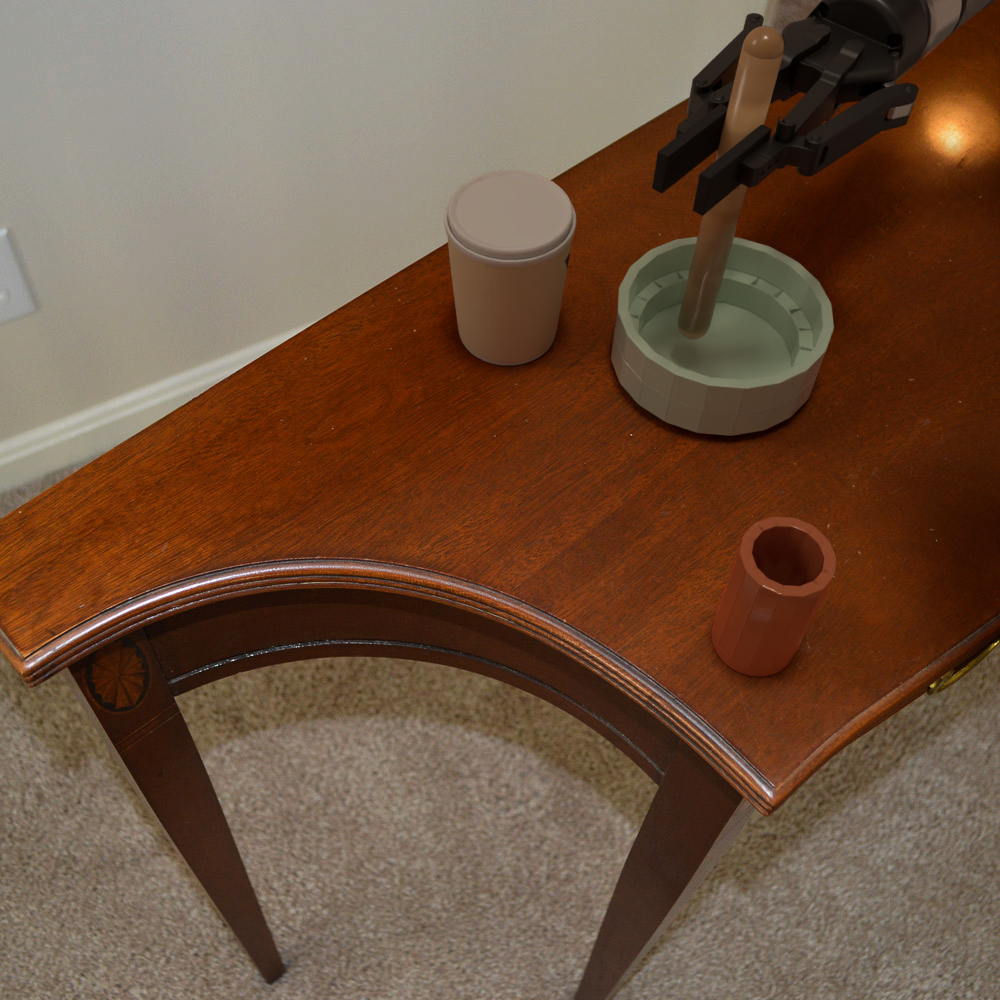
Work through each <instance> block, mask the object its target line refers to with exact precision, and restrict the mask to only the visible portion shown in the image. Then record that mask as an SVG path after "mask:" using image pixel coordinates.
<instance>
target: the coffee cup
mask: <svg viewBox="0 0 1000 1000" xmlns="http://www.w3.org/2000/svg"><path fill="white" fill-rule="evenodd" d="M443 225H444V230H445V234H446V237H447V247H448V256H449V257H448V258H449V266H450V273H451V282H452V289H453V297H454V307H455V313H456V315H455V316H456V323H457V330H458V334H459V338H460V340H461V342H462V344H463V346H464V347H465V348H466V350H467V351H468V352H469V353H470V354H471V355H473V356H474V357H476V358H477V359H480V360H481V361H483V362H486V363H489V364H492V365H497V366H505V367H506V366H509V367H510V366H519V365H524V364H527V363H530V362H533V361H535V360H536V359H538V358H540V357H541V356H543V355H544V354H545V353H546V352H547V351H548V350H549V349H550V348H551V346H552V345H553V343H554V341H555V338H556V335H557V330H558V325H559V321H560V315H561V308H562V304H563V298H564V292H565V291H564V290H565V286H566V279H567V274H568V268H569V262H570V256H571V249H572V243H573V238H574V236H575V231H576V229H577V215H576V210H575V207H574V205H573V204H572V202H571V199H570V197H569V196H568V194H567V193H566V192H565V191H564V189H562V187H561V186H560V185H558V184H556V183H555V181H553V180H551V179H549V178H548V177H545V176H542V175H541V174H537V173H534V172H530V171H525V170H520V169H519V170H517V169H500V170H493V171H488V172H485V173H482V174H478V175H476V176H474V177H472V178H470V179H468V180H466V181H465V182H464V183H462V184H461V185H460V186H459V187H458V188H457V189H456V190H455V191H454V192H453V194H452V195H451V197H450V199H449V200H448V202H447V204H446V206H445V210H444V215H443Z"/></svg>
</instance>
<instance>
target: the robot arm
mask: <svg viewBox="0 0 1000 1000" xmlns="http://www.w3.org/2000/svg"><path fill="white" fill-rule="evenodd" d="M994 1H996V0H820V1H819V2H818V4H816V5H815V7H814V8H813V9H812V10H811V12H810V13H809V14H808V15H807V17H805V18H803V19H799V20H795V21H794V20H793V21H791V22H789V23H788V24H786V25H785V26H784V27H783V28H777V27H774V28H775V29H776V30H777V31H778V32H779V33H780V34H781V36H782V37H783V40H784V53H783V56H782V60H781V64H780V68H779V71H778V75H777V79H776V82H775V86H774V90H773V94H772V97H771V101H770V105H772V104H773V103H775V102H777V101H778V100H779V101H781V102H786V101H788V100H789V99H792V98H793V97H794V96H796V95H798V94H799V93H802V94H804V95H803V96H802V97H801V99H799V100H798V102H797V103H796V105H794V106H793V107H792V108H791V109H790V111H789V112H788V113H787V114H786V115H785V117H782V119H781V115H779V116H778V118H777V120H776V124H775V128H774V133H773V134H772V131H773V129H772V128H771V127H769V126H766V125H765V124H764V125H763V124H762V125H760V126H759V127H757V128H756V129H755V130H754V131H752V132H751V133H750V134H749V135H747V136H746V137H745V138H744V139H742V140H741V141H740V142H739V143H737V144H736V145H735V146H734V147H732V148H731V149H730V150H729V151H727V152H726V153H725V154H724V155H722V156H721V157H720V158H719V159H717V160H716V159H715V160H716V161H714V162H713V163H711V164H710V165H709V166H707V167H706V168H705V169H703V170H702V171H701V172H699V176H698V181H697V186H696V191H695V196H694V201H693V207H692V212H694V213H695V214H698V215H700V216H703V215H705V214H706V213H707V212H708V211H709V210H711V209H712V208H713V207H714V206H715V205H717V204H718V203H719V202H720V201H721V200H723V199H724V198H725V197H726V196H727V195H729V194H730V193H731V192H732V191H733V190H735V189H736V188H737V187H738V186H739V185H741V184H743V185H745V186H747V188H749V189H750V188H754V187H757V186H758V185H759V184H761V183H762V181H765V179H766V178H768V177H769V176H770V175H772V173H774V172H775V171H776V170H781V169H784V168H785V167H786V166H789V167H790V166H791V167H794V168H796V172H797V173H798V174H799V175H801V176H803V177H813V176H815V175H816V174H819V173H820V172H821V171H823V170H824V169H826V168H828V167H829V166H830V165H832V164H833V163H835V162H837V161H838V160H840V159H841V158H843V157H845V156H847V154H849V153H850V152H852V151H854V150H855V149H857V148H858V147H860V146H861V145H863V144H864V143H866V142H868V141H869V140H871V139H872V138H873V137H875V136H877V135H878V134H880V133H881V132H885V131H889V130H893V129H897V128H901V127H904V126H907V124H908V122H909V120H910V117H911V113H912V110H913V108H914V105H915V102H916V100H917V97H918V94H919V92H920V87H919V86H918V85H917V84H915V83H913V82H902V83H898V81H899V80H901V79H902V78H903V77H904V76H905V75H906V74H908V73H909V72H910V71H911V70H912V69H913V68H915V66H916V65H917V64H918V63H920V62H921V61H922V60H923V59H925V58H926V57H927V56H928V55H929V54H930V53H931V52H933V51H934V50H935V49H936V48H937V47H939V45H941V44H942V43H943V42H944V41H945V40H946V39H948V38H949V37H950V36H951V35H952V34H954V32H955V31H957V30H958V29H959V28H960V27H961V26H963V25H964V24H965V23H966V22H968V21H969V20H970V19H971V18H973V17H974V16H975V15H977V13H979V12H982V10H984V9H986V8H987V7H989V6H990V5H991V4H992V3H994ZM764 21H765V17H764V16H763V15H762V14H761V13H757V12H751V13H748V14H747V15H746V16H745V20H744V25H743V28H742V30H741V31H740V32H739V33H738V34H737V35H736V36H735V37H733V39H732V40H731V41H730V42H729V43H728V44H727V45H725V47H724V48H723V49H722V50H721V51H720V52H719V53H717V55H716V56H714V57H713V58H712V60H711V61H709V62H708V63H707V64H706V65H705V66H704V67H703V68H702V69H701V71H699V72H698V73H697V74H696V75H695V76H694V77H693V78H692V80H691V86H690V92H689V97H688V102H687V109H686V116H687V117H686V118H684V119H683V120H681V122H679V123H678V125H677V127H676V132H675V138H674V139H672V140H671V141H669V142H668V143H667V144H666V145H664V146H663V147H662V148H660V149H659V150H657V154H656V155H657V156H656V160H655V169H654V174H653V180H652V187H651V189H652V190H653V191H656V192H658V193H659V194H661V195H662V194H664V193H665V192H666V191H667V190H669V189H670V188H671V187H673V186H674V185H675V184H676V183H677V182H679V181H680V180H681V179H682V178H684V177H685V176H687V175H688V174H689V173H690V172H691V171H693V170H694V169H695V168H697V167H698V166H699V165H701V164H702V163H703V162H704V161H705V160H706V159H708V158H709V157H710V156H711V155H713V154H714V153H716V151H718V148H719V144H720V139H721V135H722V131H723V127H724V122H725V118H726V114H727V110H728V105H729V101H730V97H731V93H732V88H733V84H734V80H735V76H736V72H737V67H738V63H739V59H740V55H741V50H742V46H743V43H744V40H745V38H746V37H747V35H748V34H749V33H750V32H751V31H752V30H754V29H755V28H758V27H761V26H764ZM849 103H854V104H853V105H851V106H849V107H848V108H846V109H844V110H842V111H841V112H840V113H838V114H836V113H837V112H838V111H839V110H840V108H841V107H844V106H845V105H846V104H849ZM835 114H836V115H835ZM834 115H835V116H834ZM833 116H834V117H833ZM771 134H772V135H771Z"/></svg>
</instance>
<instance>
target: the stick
mask: <svg viewBox="0 0 1000 1000" xmlns="http://www.w3.org/2000/svg"><path fill="white" fill-rule="evenodd" d="M775 28H776V27H772V26H769V25H763V26H761V27H758V28H755V29H754V30H752V31H751V32H750V33H749V34H748V35H747V37H746V38H745V40H744V43H743V46H742V50H741V55H740V59H739V63H738V67H737V72H736V76H735V80H734V84H733V88H732V93H731V97H730V101H729V105H728V110H727V114H726V118H725V122H724V127H723V131H722V135H721V139H720V144H719V148H718V150H717V152H716V157H715V161H716V160H717V159H719V158H720V157H721V156H722V155H724V154H725V153H726V152H727V151H729V150H730V149H731V148H732V147H734V146H735V145H736V144H737V143H739V142H740V141H741V140H742V139H744V138H745V137H746V136H747V135H749V134H750V133H751V132H752V131H754V130H755V129H756V128H757V127H759V126H760V125H762V124H763V125H765V124H766V120H767V115H768V113H769V107H770V105H771V104H770V101H771V97H772V94H773V90H774V86H775V82H776V79H777V75H778V71H779V68H780V64H781V60H782V56H783V53H784V40H783V37H782V36H781V34H780V33H779V32H778V31H777V30H776V29H775ZM715 161H714V162H715ZM747 191H748V187H747V186H745V185H743V184H741V185H739V186H738V187H737V188H736V189H735V190H733V191H732V192H731V193H730V194H729V195H727V196H726V197H725V198H724V199H723V200H721V201H720V202H719V203H718V204H717V205H715V206H714V207H713V208H712V209H711V210H709V211H708V212H707V213H706V214H705V215H703V216H702V215H701V216H702V217H701V220H700V224H699V228H698V233H697V236H698V237H697V236H696V237H697V241H696V245H695V249H694V254H693V258H692V262H691V266H690V271H689V275H688V279H687V283H686V287H685V292H684V296H683V300H682V304H681V309H680V313H679V317H678V323H677V324H678V329H679V331H680V333H681V334H682V335H683V336H684V337H686V338H689V339H698V338H701V337H703V336H704V335H705V334H706V333H707V332H708V330H709V328H710V324H711V320H712V317H713V313H714V309H715V306H716V302H717V298H718V294H719V291H720V287H721V283H722V280H723V276H724V272H725V268H726V265H727V261H728V257H729V253H730V250H731V246H732V242H733V239H734V237H735V234H736V231H737V227H738V223H739V220H740V216H741V212H742V209H743V205H744V201H745V197H746V193H747Z"/></svg>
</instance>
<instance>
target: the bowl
mask: <svg viewBox="0 0 1000 1000" xmlns="http://www.w3.org/2000/svg"><path fill="white" fill-rule="evenodd" d="M697 237H698V235H697V236H692V237H683V238H677V239H673V240H670V241H669V242H666V243H664V244H661V245H659V246H656V247H654V248H652V249H650V250H648V251H646V252H645V253H644V254H643V255H642V256H641V257H640V258H639V259H638V260H636V261H635V262H634V263H633V264H631V265H630V267H629V268H628V270H627V271H626V274H625V275H624V277H623V279H622V281H621V283H620V285H619V286H618V291H617V297H616V305H615V306H616V307H615V314H614V319H613V328H612V335H611V350H610V351H611V352H610V361H611V363H612V366H613V369H614V372H615V374H616V377H617V380H618V382H619V384H620V385H621V386H622V388H623V389H624V390H625V391H626V392H627V393H628V395H630V397H631V398H632V399H633V400H634V401H635V403H636V404H637V405H638V406H640V407H641V408H643V409H644V410H646V411H647V412H649V413H650V414H652V415H653V416H655V417H657V418H658V419H660V420H662V422H665V423H667V424H669V425H672V426H676V427H679V428H681V429H684V430H688V431H690V432H692V433H697V434H706V435H717V436H719V435H720V436H728V437H730V436H739V435H744V434H750V433H756V432H757V433H758V432H763V431H766V430H768V429H770V428H772V427H774V426H776V425H778V424H780V423H782V422H784V421H786V420H788V419H790V418H792V417H793V416H794V414H796V412H797V411H798V410H800V408H801V407H803V405H804V404H805V403H806V402H807V401H808V400H809V399H810V396H811V393H812V390H813V388H814V385H815V382H816V380H817V377H818V374H819V371H820V369H821V366H822V363H823V360H824V358H825V356H826V352H827V350H828V347H829V344H830V341H831V338H832V336H833V333H834V329H835V324H834V316H833V305H832V302H831V300H830V299H829V297H828V295H827V294H826V291H825V290H824V288H823V286H822V284H821V282H820V281H819V280H818V279H817V278H816V277H815V276H814V275H813V274H812V273H811V272H809V270H808V269H806V268H805V267H804V266H803V265H802V264H801V263H800V262H798V261H797V260H795V259H794V258H792V257H790V256H789V255H786V254H784V253H783V252H781V251H779V250H777V249H775V248H773V247H772V246H769V245H766V244H762V243H759V242H756V241H752V240H748V239H745V238H743V237H738V236H737V237H735V236H734V239H733V242H732V246H731V250H730V253H729V257H728V261H727V265H726V268H725V272H724V276H723V280H722V283H721V287H720V291H719V294H718V298H717V302H716V306H715V309H714V313H713V317H712V320H711V324H710V328H709V330H708V332H707V333H706V334H705V335H704V336H703V337H701V338H698V339H689V338H686V337H684V336H683V335H682V334H681V333H680V331H679V329H678V324H677V323H678V317H679V313H680V309H681V304H682V300H683V296H684V292H685V287H686V283H687V279H688V275H689V271H690V266H691V262H692V258H693V254H694V249H695V245H696V241H697Z"/></svg>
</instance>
